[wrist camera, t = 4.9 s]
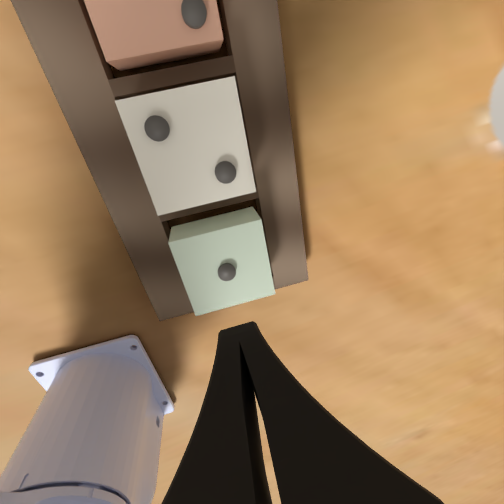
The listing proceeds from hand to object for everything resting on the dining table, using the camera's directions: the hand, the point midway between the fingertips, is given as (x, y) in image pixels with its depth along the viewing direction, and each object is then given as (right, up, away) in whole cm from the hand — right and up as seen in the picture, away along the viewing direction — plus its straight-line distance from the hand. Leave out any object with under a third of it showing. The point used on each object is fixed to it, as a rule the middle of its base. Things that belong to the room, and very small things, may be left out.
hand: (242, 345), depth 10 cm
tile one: (-1, +3, +7) cm, 8 cm away
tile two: (-3, +9, +4) cm, 10 cm away
